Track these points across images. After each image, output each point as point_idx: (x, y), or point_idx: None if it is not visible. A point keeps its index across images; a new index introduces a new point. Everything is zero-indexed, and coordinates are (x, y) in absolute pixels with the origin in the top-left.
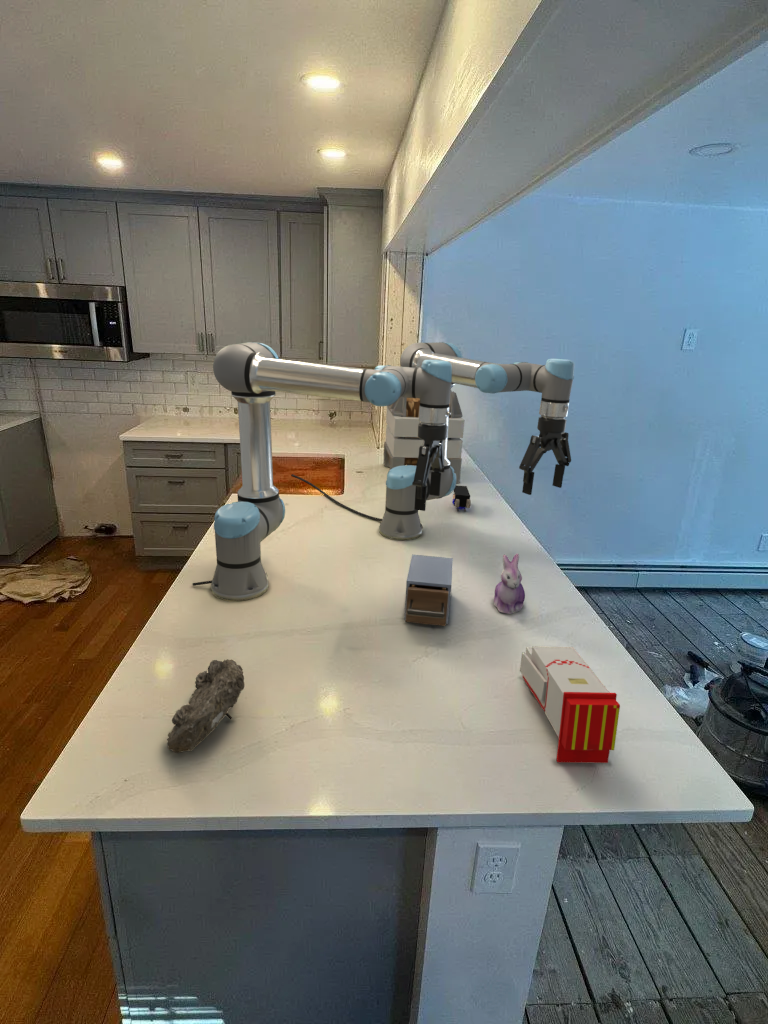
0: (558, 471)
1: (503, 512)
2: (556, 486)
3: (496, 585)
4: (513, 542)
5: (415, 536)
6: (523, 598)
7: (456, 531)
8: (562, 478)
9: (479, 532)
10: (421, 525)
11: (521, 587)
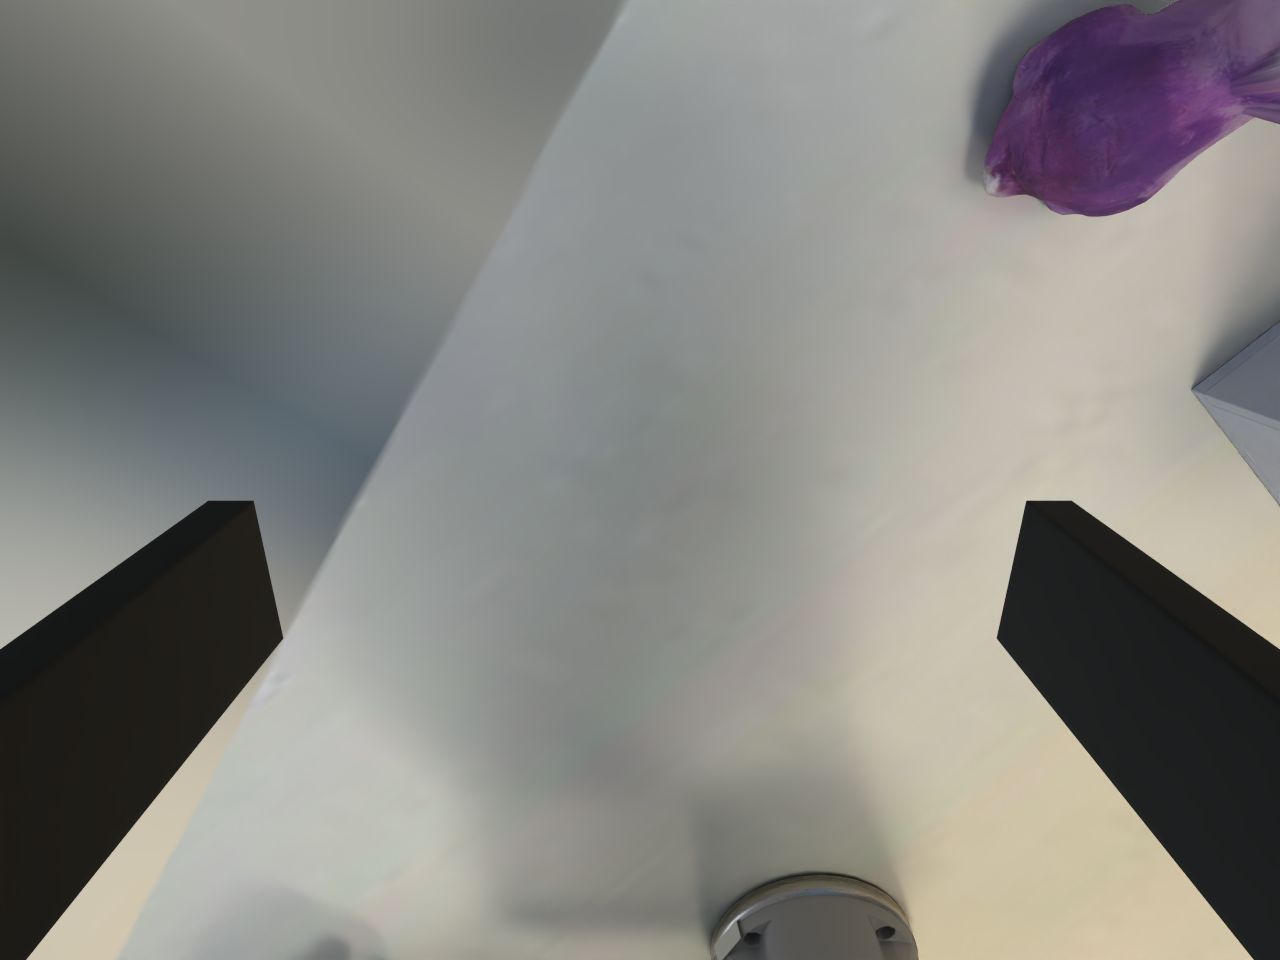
0: (70, 774)
1: (157, 904)
2: (264, 569)
3: (1149, 198)
4: (394, 640)
5: (813, 884)
6: (1105, 7)
7: (567, 851)
8: (101, 587)
9: (469, 797)
10: (735, 943)
11: (1130, 32)
